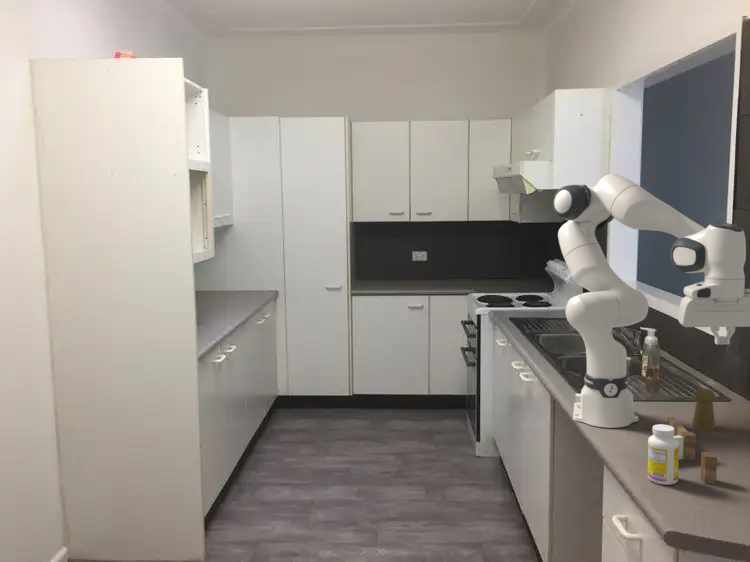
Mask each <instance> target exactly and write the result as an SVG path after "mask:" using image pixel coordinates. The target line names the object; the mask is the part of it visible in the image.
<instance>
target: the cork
mask: <svg viewBox="0 0 750 562" xmlns="http://www.w3.org/2000/svg"><path fill="white" fill-rule="evenodd" d="M715 398H716V393H715V392H714V391H713V390H712V389H709V388H698V389H696V390H695V392H694V399H695V400H696V403H695V408H694V413H693V417H692V418H693V419H692V423H691V425H692V426H691V427H692V428H694V429H696V430H699V431H704V430H705V431H704V432H706V430H707V432H708V430H712V431H715V430H716V428H715V427H716V421H715V420H716V419H715V412H714V411H715V410H714V403H713V402H714V401H715ZM714 429H715V430H714Z"/></svg>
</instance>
